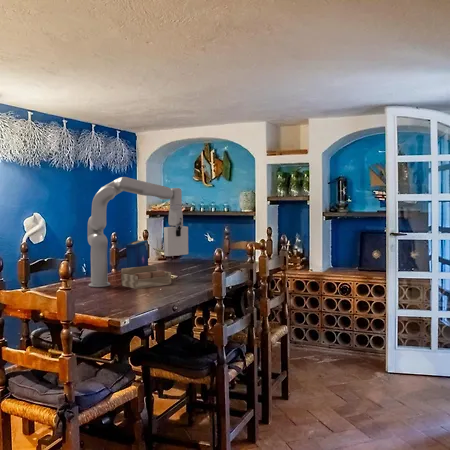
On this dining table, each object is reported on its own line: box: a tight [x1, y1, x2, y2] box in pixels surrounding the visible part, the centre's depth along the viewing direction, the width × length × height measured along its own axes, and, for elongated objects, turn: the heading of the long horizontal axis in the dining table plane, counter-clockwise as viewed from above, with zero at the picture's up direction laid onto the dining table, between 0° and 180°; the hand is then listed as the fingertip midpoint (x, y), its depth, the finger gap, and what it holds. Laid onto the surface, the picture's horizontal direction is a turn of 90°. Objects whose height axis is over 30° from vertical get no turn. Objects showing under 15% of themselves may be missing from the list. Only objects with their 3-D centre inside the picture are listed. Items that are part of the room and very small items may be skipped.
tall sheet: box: [163, 225, 189, 257], centre depth 315 cm, size 4×16×18 cm, turn 132°
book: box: [125, 239, 149, 268], centre depth 313 cm, size 22×7×25 cm, turn 168°
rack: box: [120, 264, 172, 290], centre depth 296 cm, size 17×24×10 cm
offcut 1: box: [135, 272, 151, 280], centre depth 290 cm, size 4×8×8 cm, turn 132°
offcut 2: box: [150, 270, 166, 278], centre depth 297 cm, size 4×8×8 cm, turn 132°
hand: (176, 235), depth 315 cm, fingers closed on tall sheet, 4 cm apart
